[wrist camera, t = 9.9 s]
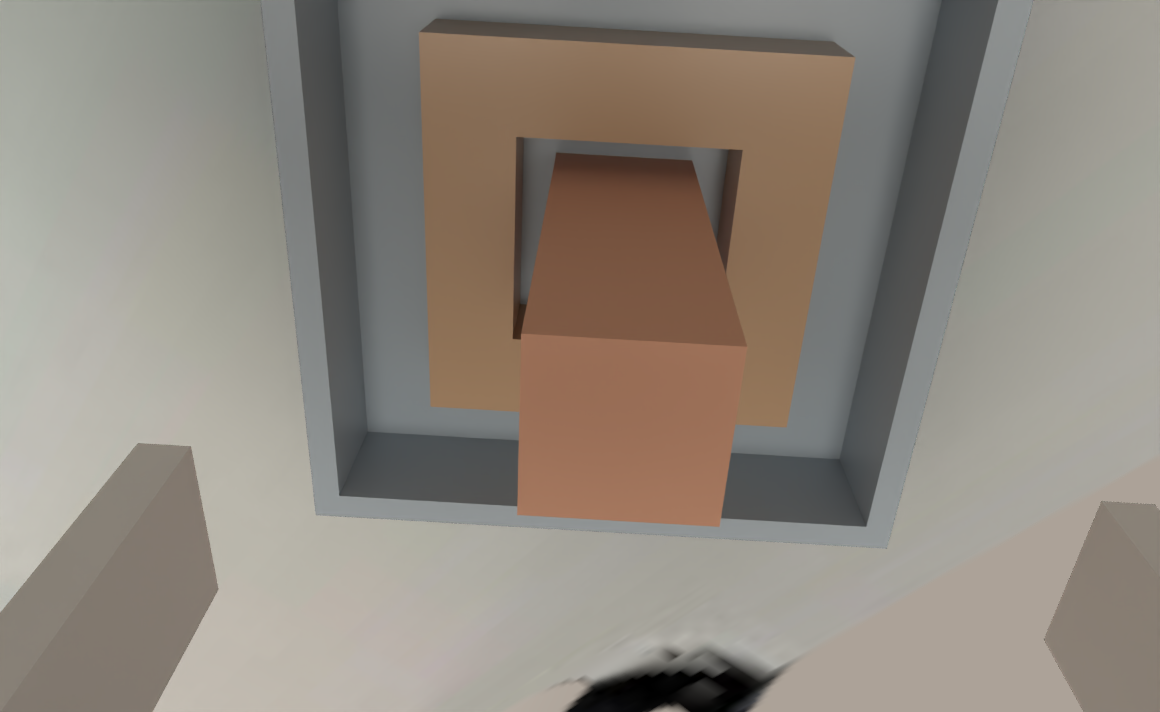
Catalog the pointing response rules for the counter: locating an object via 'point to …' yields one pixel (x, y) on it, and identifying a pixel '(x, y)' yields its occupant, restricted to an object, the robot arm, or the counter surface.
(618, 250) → the peg
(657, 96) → the tray box
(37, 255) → the counter surface
